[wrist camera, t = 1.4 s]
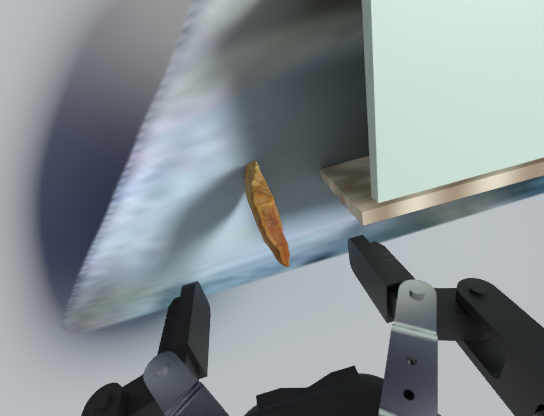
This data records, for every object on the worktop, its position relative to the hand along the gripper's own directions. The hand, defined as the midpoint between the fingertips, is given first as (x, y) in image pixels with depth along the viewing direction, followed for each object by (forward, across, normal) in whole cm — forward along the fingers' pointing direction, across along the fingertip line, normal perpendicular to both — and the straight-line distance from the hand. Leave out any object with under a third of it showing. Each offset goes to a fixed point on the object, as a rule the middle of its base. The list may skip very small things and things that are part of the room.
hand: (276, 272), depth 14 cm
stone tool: (+15, 0, 0) cm, 16 cm away
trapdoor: (+6, -15, -6) cm, 18 cm away
